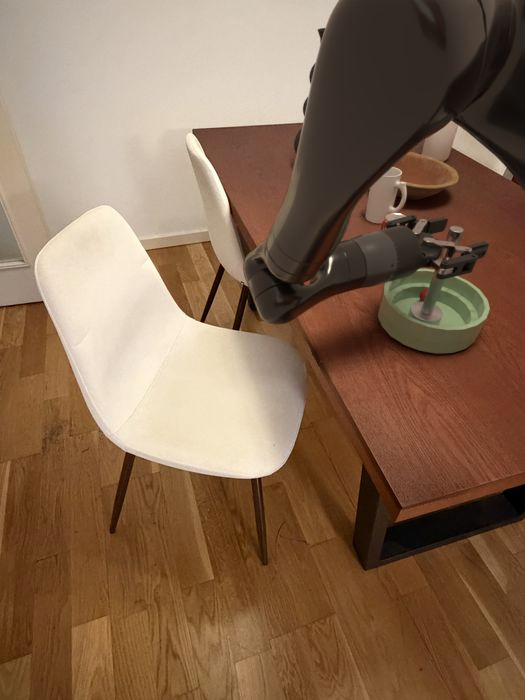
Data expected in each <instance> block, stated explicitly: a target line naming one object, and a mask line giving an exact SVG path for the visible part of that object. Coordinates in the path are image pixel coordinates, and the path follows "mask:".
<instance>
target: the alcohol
mask: <svg viewBox="0 0 525 700" xmlns="http://www.w3.org/2000/svg"><path fill="white" fill-rule="evenodd" d="M458 128H459V125H457V124H456V123H454V122H453V121H451V122H449V123H448V124H447V125H446V126H445V127H444V128H442V129H441V130H439V131H438V132H436V133H435V134H433V135H432V136H430V137H428V138H426V139H424V143H423V146H422V149H421V155H426V156H429V157H432V158H435V159H438V160H440V161H442V162H445V161H447V160H448V159H449V158H450V154H451V151H452V147H453V145H454V141H455V138H456V135H457V132H458Z"/></svg>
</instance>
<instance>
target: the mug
mask: <svg viewBox="0 0 525 700" xmlns="http://www.w3.org/2000/svg"><path fill="white" fill-rule="evenodd" d="M401 174H402V171H401V170H400V169H398V168H395V167H392V168H391V169H390V170H389V171H387V172H386V173H385V174H384V175H383V176H382V177H381V178H380V179H379V180H378V181H377V182H376V183H375V184H374V185H373V186H372V187H371V188H370V189H369V190H368V197H367V204H366V209H365V216H364V218H365V220H366V221H368V222H370V223H373V224H378V225H379V224H380V225H382V222H383V221H384V219H385V217H386V215H387V214H390V213H399V214H400V212H401V211H402V209H403V208H404V206H405V204H406V201H407V199H406V197H407V190H406V182H400V179H401ZM398 188H399V189H400V190H401V192H402V198H401V199H400V202H399V204H398V206H397V207H395V206H394V205H395V202H396V197H397V195H396V194H397V190H398Z"/></svg>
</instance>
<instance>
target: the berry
mask: <svg viewBox="0 0 525 700" xmlns="http://www.w3.org/2000/svg"><path fill="white" fill-rule="evenodd" d="M427 291H428V289H425V290H424V291H422V293H421V294H420V301H421V302H424V299H425V297H426V294H427Z"/></svg>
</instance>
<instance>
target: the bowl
mask: <svg viewBox="0 0 525 700" xmlns="http://www.w3.org/2000/svg"><path fill="white" fill-rule="evenodd" d="M393 167H395V168H398V169H400V170H401V171H402V174H401V179H400V182H406V190H407V197H406V200H410V201H418V200H419V201H420V200H423V199H425V198H428V197H431V196H434V195H436V194H438V193H440V192H441V191H444V190H445V189H447V188H450V187H452V186H454V185H456V184H457V183H458V182H459V180H460V179H459V178H460V176H459V173H458V170H456V169H455V168H454V167H452V166H450V165H449V164H447V163H445V161H443V162H442V161H440V160H438V159H435V158H432V157H429V156H426V155H422V153H417V152H414V151H409V152H408V153H407V154H406V155H405V156H404V157H403V158H402V159H401V160H400V161H398V162H397V163H396V164H395V165H394V166H393ZM396 197H398V198H401V199H402V192H401V190H400V189H399V188H398V190H397V194H396Z"/></svg>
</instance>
